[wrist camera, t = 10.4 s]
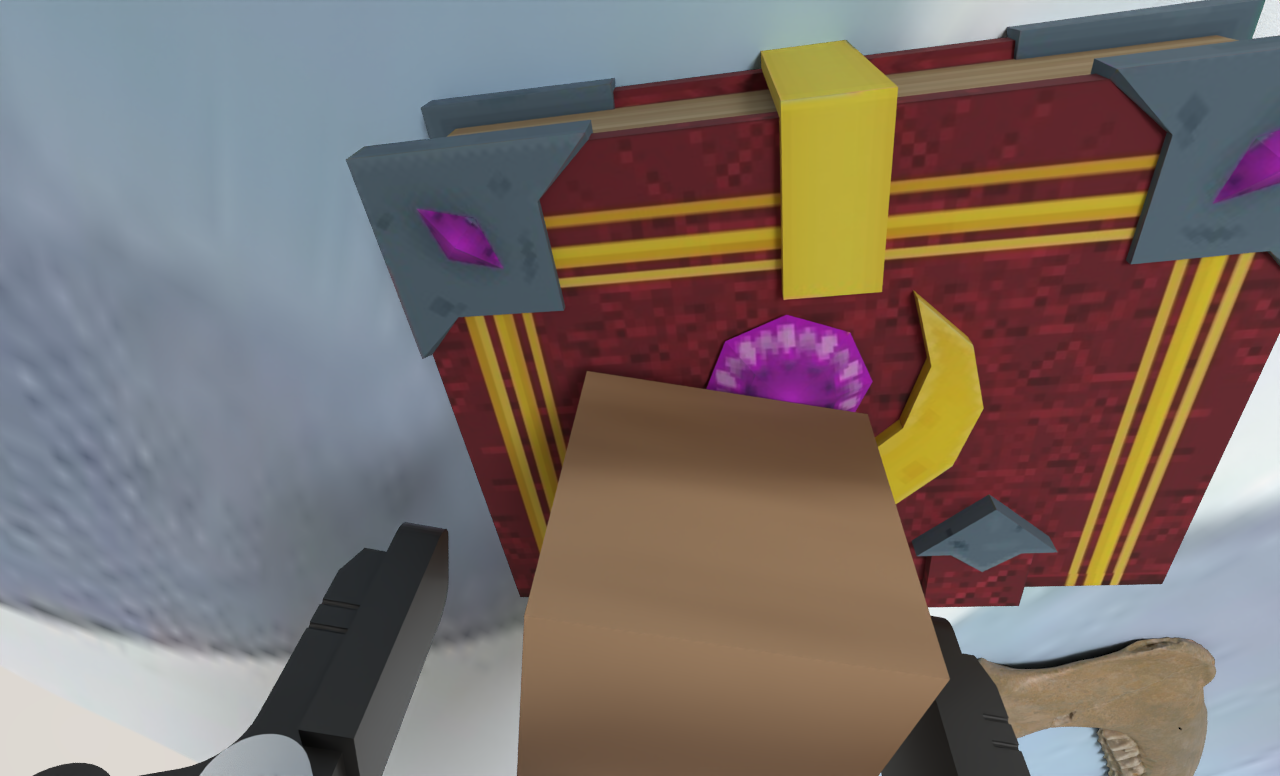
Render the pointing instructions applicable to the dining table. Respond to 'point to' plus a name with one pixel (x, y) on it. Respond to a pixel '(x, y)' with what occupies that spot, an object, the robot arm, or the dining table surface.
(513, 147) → the decorative book
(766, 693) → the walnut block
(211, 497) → the dining table surface
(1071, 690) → the jawbone
